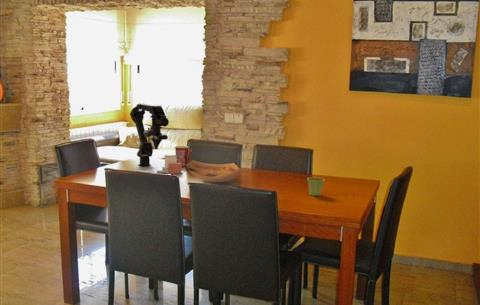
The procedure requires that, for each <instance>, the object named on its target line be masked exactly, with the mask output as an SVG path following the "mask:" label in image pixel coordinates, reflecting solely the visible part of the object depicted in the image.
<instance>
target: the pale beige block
mask: <svg viewBox="0 0 480 305" xmlns="http://www.w3.org/2000/svg"><path fill="white" fill-rule="evenodd" d="M176 159H177V155H176V154H165V155H164V167H166V168H169V164H172V163H176Z"/></svg>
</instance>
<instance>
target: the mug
mask: <svg viewBox="0 0 480 305" xmlns="http://www.w3.org/2000/svg"><path fill="white" fill-rule="evenodd" d="M174 148H175V155H177V159H176V163H181V168H186V167H185V166H186V165H187V166H188V164H189V163H190V161H191V160H192V158H193V155H194V153H193V150H192V149H189V146H186V145H177V146H174ZM189 152H190V157H189V158H188V156H189V155H188V154H189Z"/></svg>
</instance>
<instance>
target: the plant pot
mask: <svg viewBox="0 0 480 305" xmlns="http://www.w3.org/2000/svg"><path fill="white" fill-rule="evenodd" d="M306 179H307V184H308V193H309V195H310V196H313V197H315V196H317V197H320V196H321V195H322V191H323V186H324V183H325V180H326V179H324V178H322V177H315V176H314V177H307V178H306Z"/></svg>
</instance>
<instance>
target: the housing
mask: <svg viewBox="0 0 480 305" xmlns="http://www.w3.org/2000/svg"><path fill="white" fill-rule="evenodd" d="M156 173H159V174H161V173H162V175H165V174H171V175H172V176H178V175H183V174H184V173H183V172H182V167H181V163H172V164H169V168H166V167H165V166H163V167H162V169H161V170H157V171H156Z"/></svg>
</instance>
